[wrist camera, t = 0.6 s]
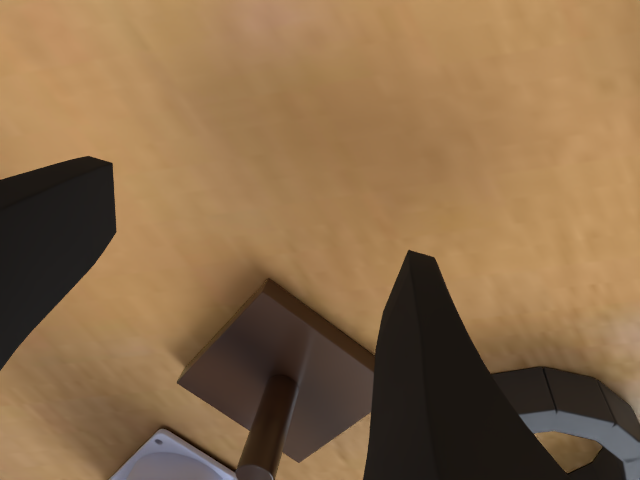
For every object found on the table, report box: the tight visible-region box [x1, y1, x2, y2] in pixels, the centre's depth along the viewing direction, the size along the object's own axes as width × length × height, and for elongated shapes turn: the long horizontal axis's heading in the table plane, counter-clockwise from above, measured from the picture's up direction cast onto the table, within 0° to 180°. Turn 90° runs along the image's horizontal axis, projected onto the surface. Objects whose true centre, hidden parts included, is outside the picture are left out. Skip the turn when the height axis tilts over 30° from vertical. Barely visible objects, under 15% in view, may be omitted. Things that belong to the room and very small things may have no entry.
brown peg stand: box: [177, 279, 375, 480], centre depth 25 cm, size 9×9×7 cm
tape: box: [491, 367, 640, 480], centre depth 26 cm, size 10×10×3 cm
